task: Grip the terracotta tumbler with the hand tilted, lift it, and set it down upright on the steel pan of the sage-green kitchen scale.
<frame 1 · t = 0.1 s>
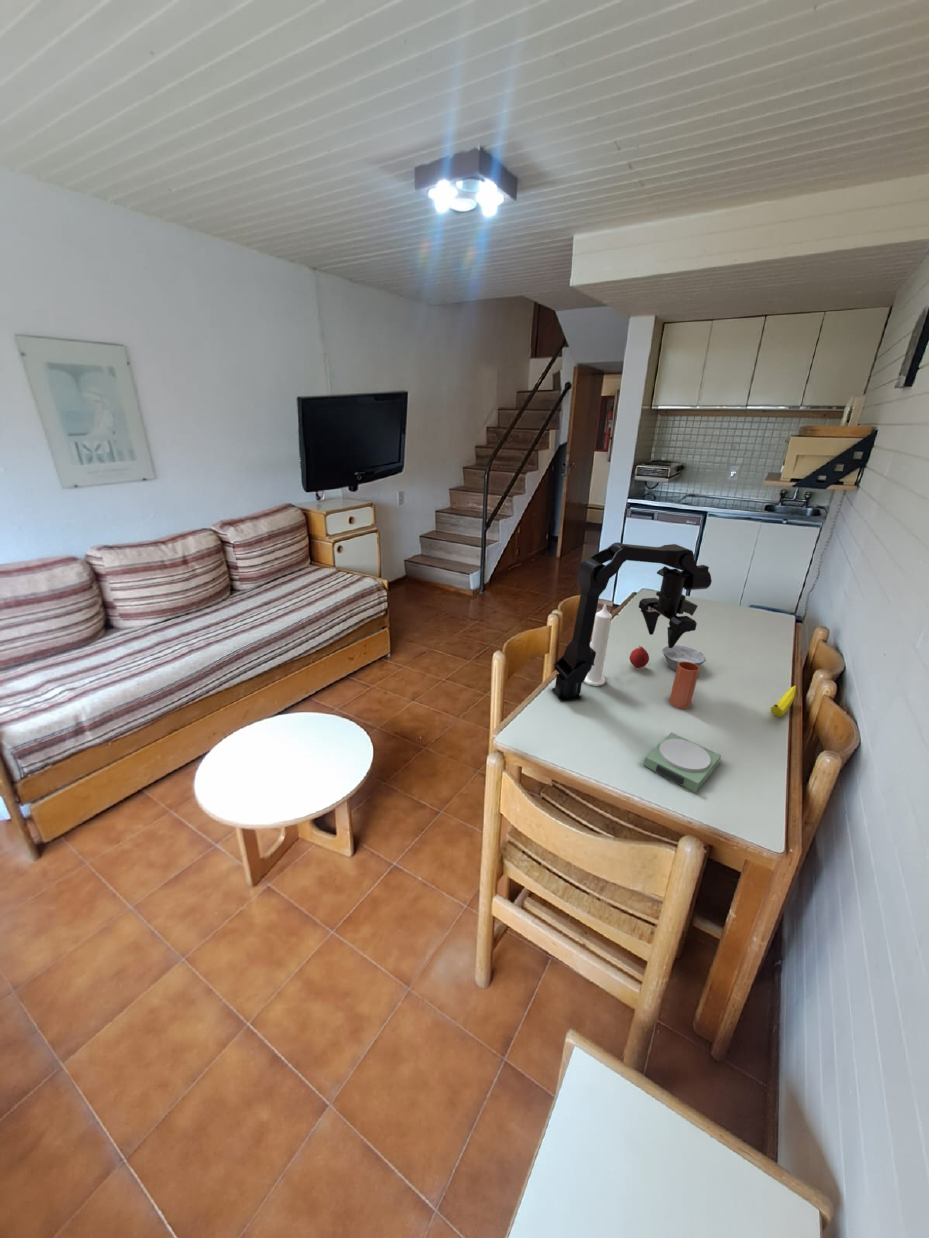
hand: (660, 641, 143), 15 cm above the table, tool pointing down, fingers open, 9 cm apart
scale: (681, 764, 115), on the table
candle: (593, 680, 150), on the table
tumbler: (679, 703, 140), on the table
bowl: (680, 667, 160), on the table
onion: (637, 668, 158), on the table
banana: (780, 712, 137), on the table
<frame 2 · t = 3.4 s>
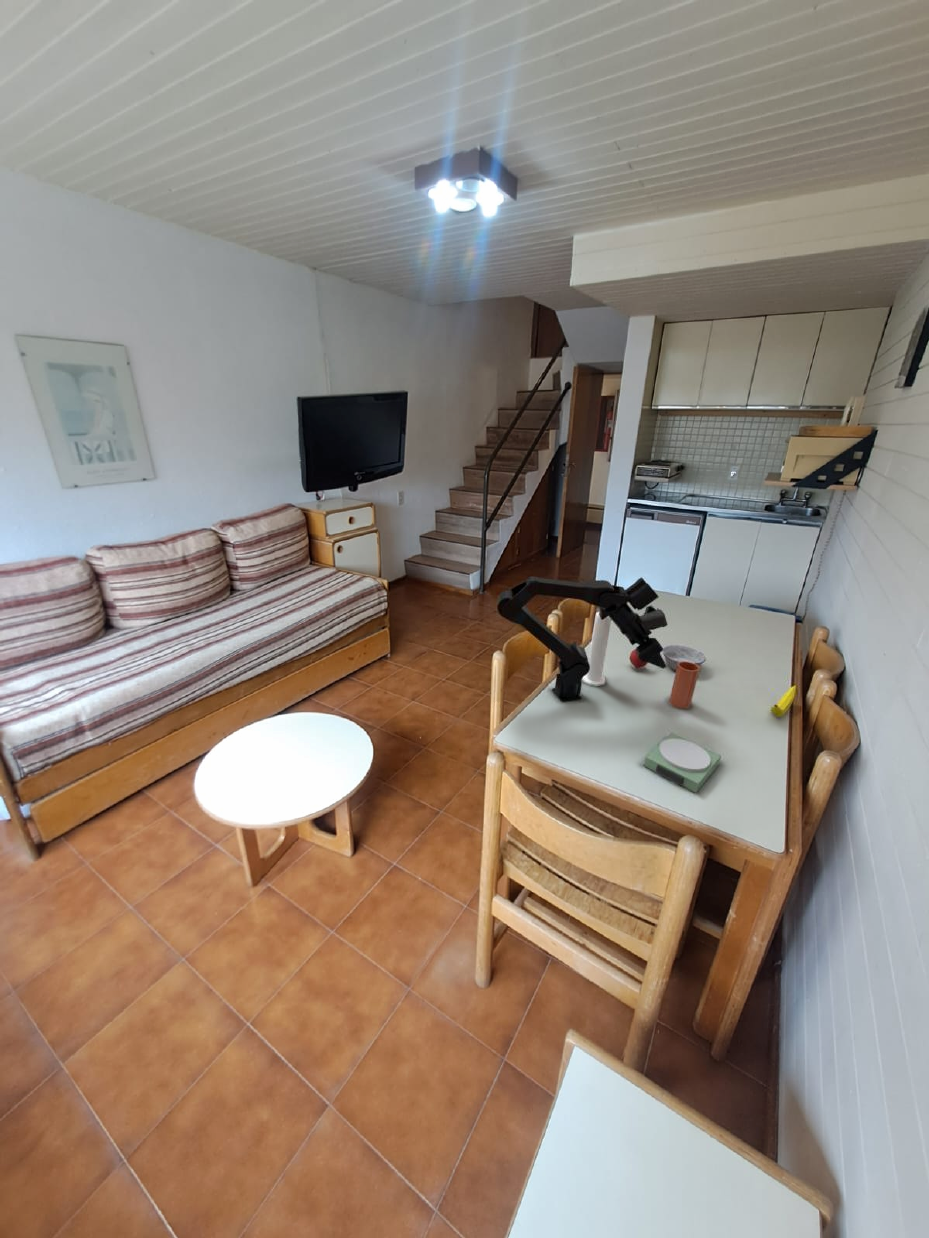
hand: (659, 659, 135), 13 cm above the table, tool tilted 45°, fingers open, 9 cm apart
nothing on the table moved.
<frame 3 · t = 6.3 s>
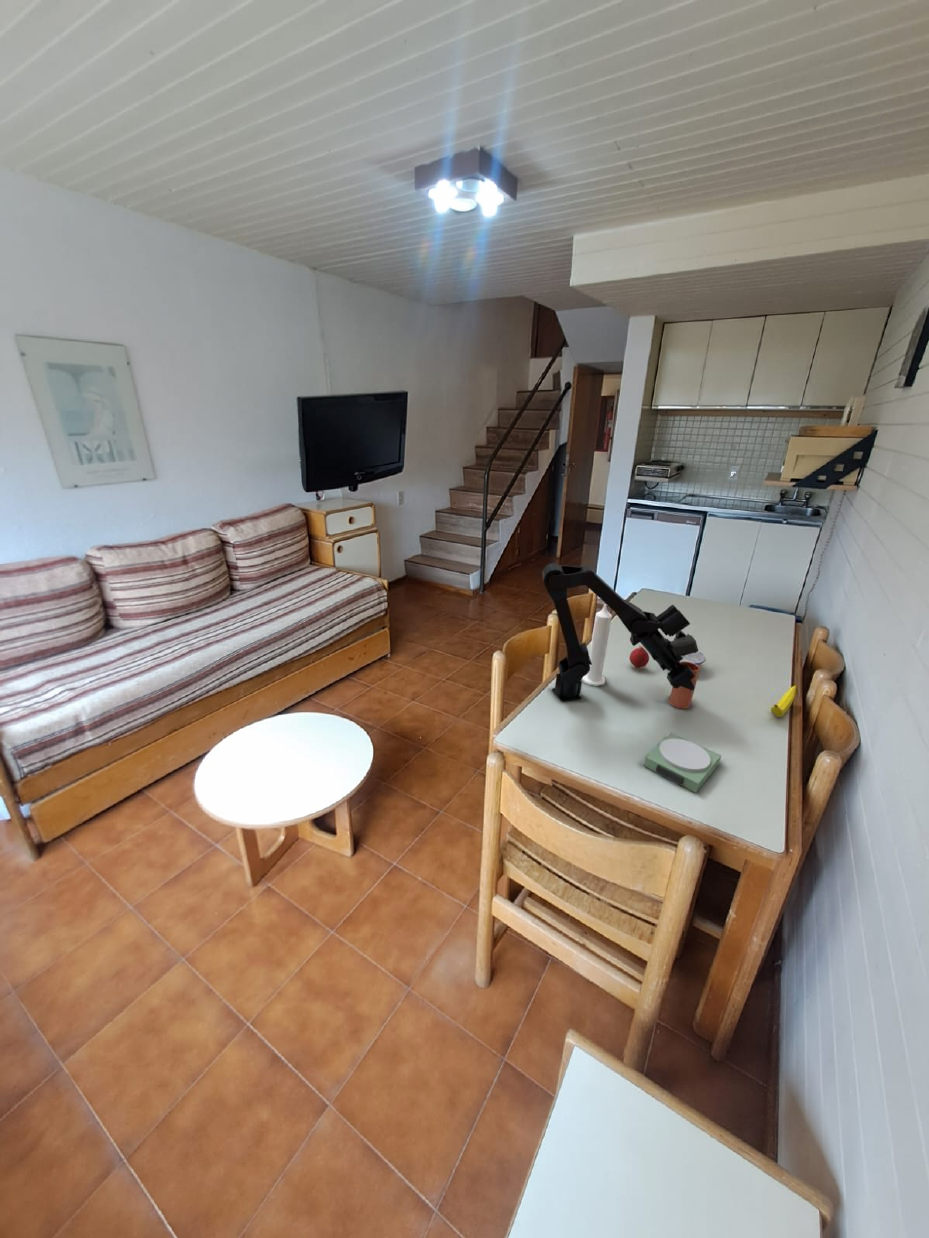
hand: (689, 683, 137), 7 cm above the table, tool tilted 45°, fingers closed on tumbler, 5 cm apart
tumbler: (679, 703, 140), on the table, touching gripper
everything else where it was.
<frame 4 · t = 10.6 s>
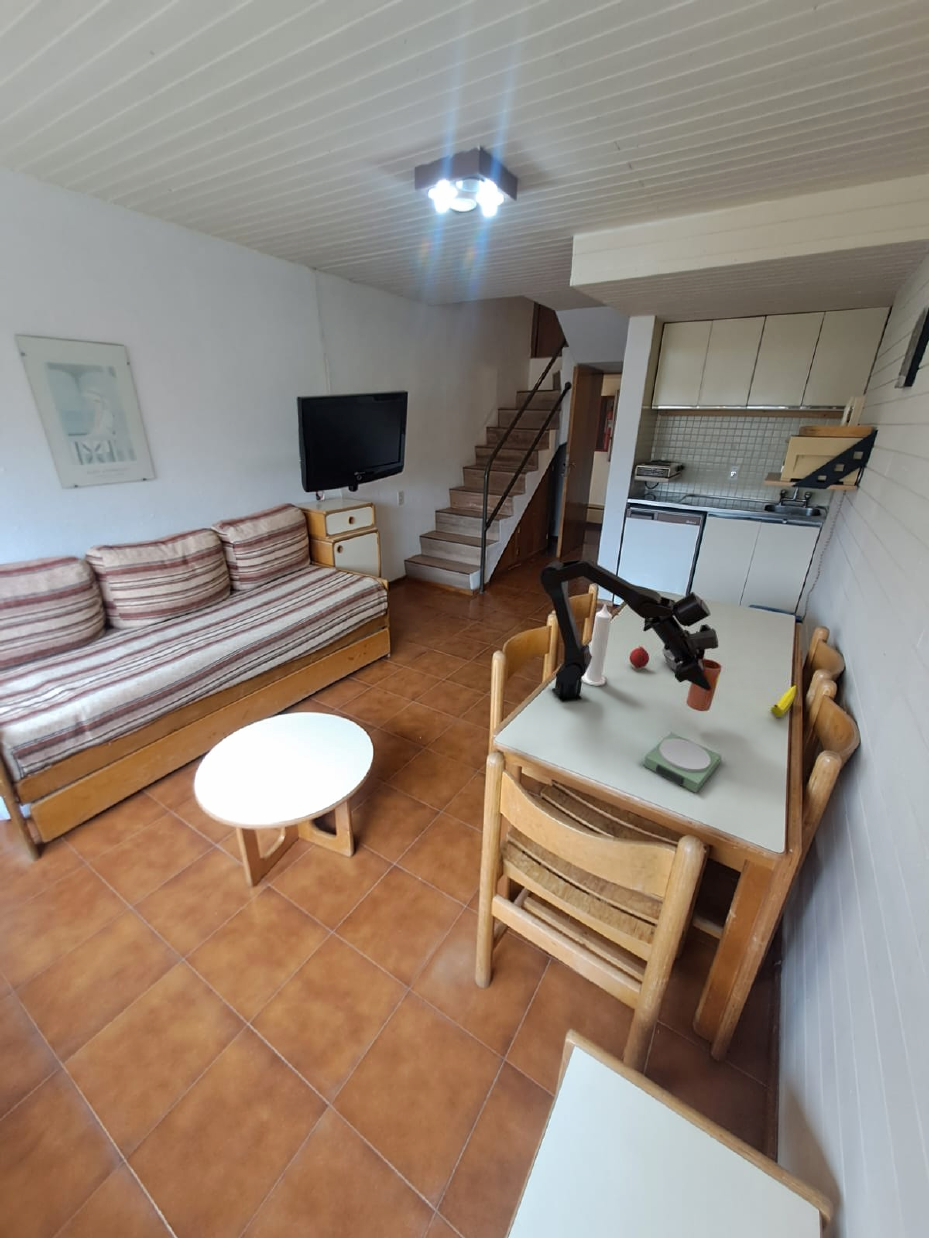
hand: (709, 684, 123), 13 cm above the table, tool tilted 45°, fingers closed on tumbler, 5 cm apart
tumbler: (697, 705, 126), point 7 cm above the table, touching gripper
everything else where it was.
when the fingers open (10 cm above the table, at t = 15.0 s): tumbler stays where it is, resting on scale.
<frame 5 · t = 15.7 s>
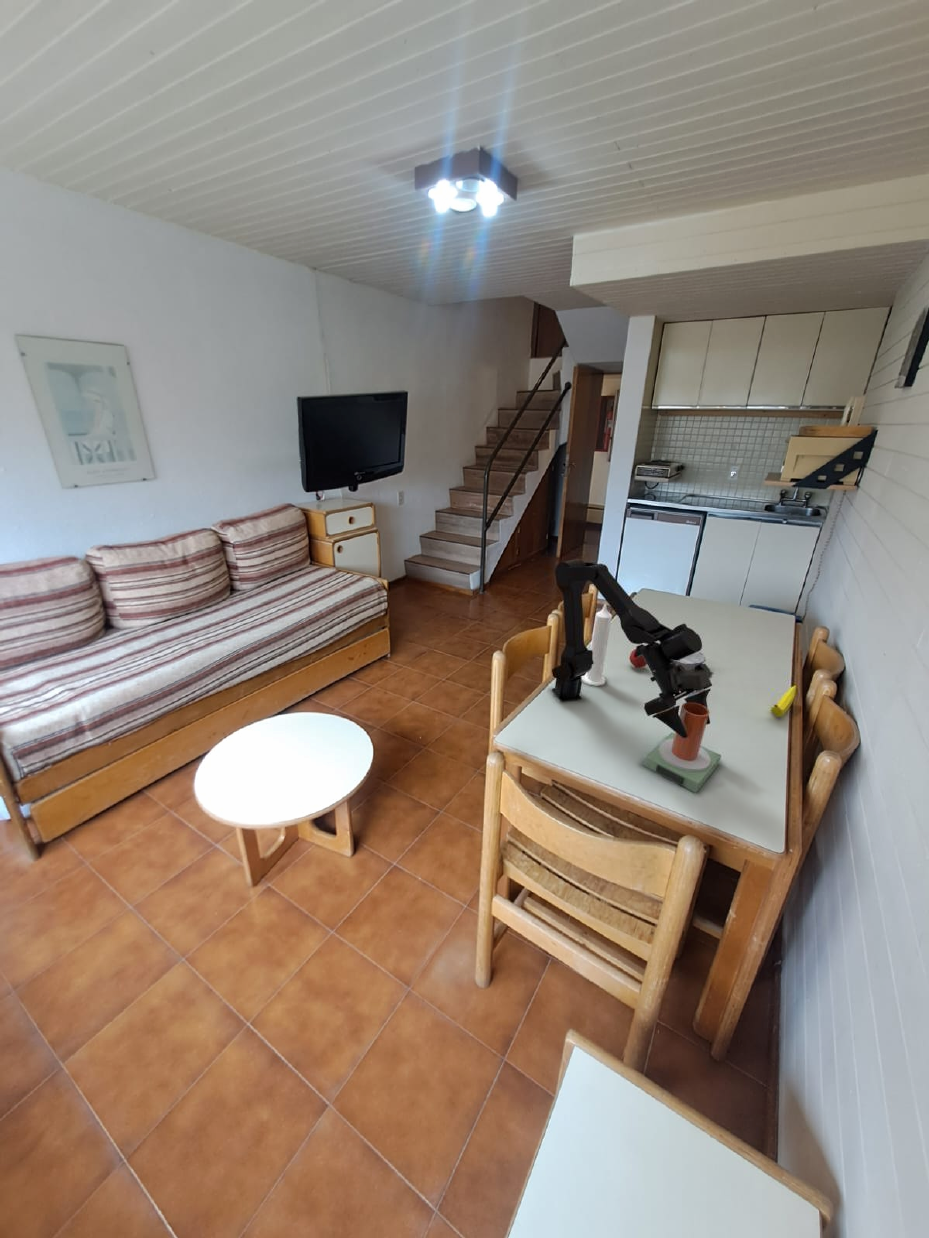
hand: (697, 730, 110), 10 cm above the table, tool tilted 45°, fingers open, 9 cm apart
tumbler: (684, 752, 114), point 3 cm above the table, touching scale
everything else where it was.
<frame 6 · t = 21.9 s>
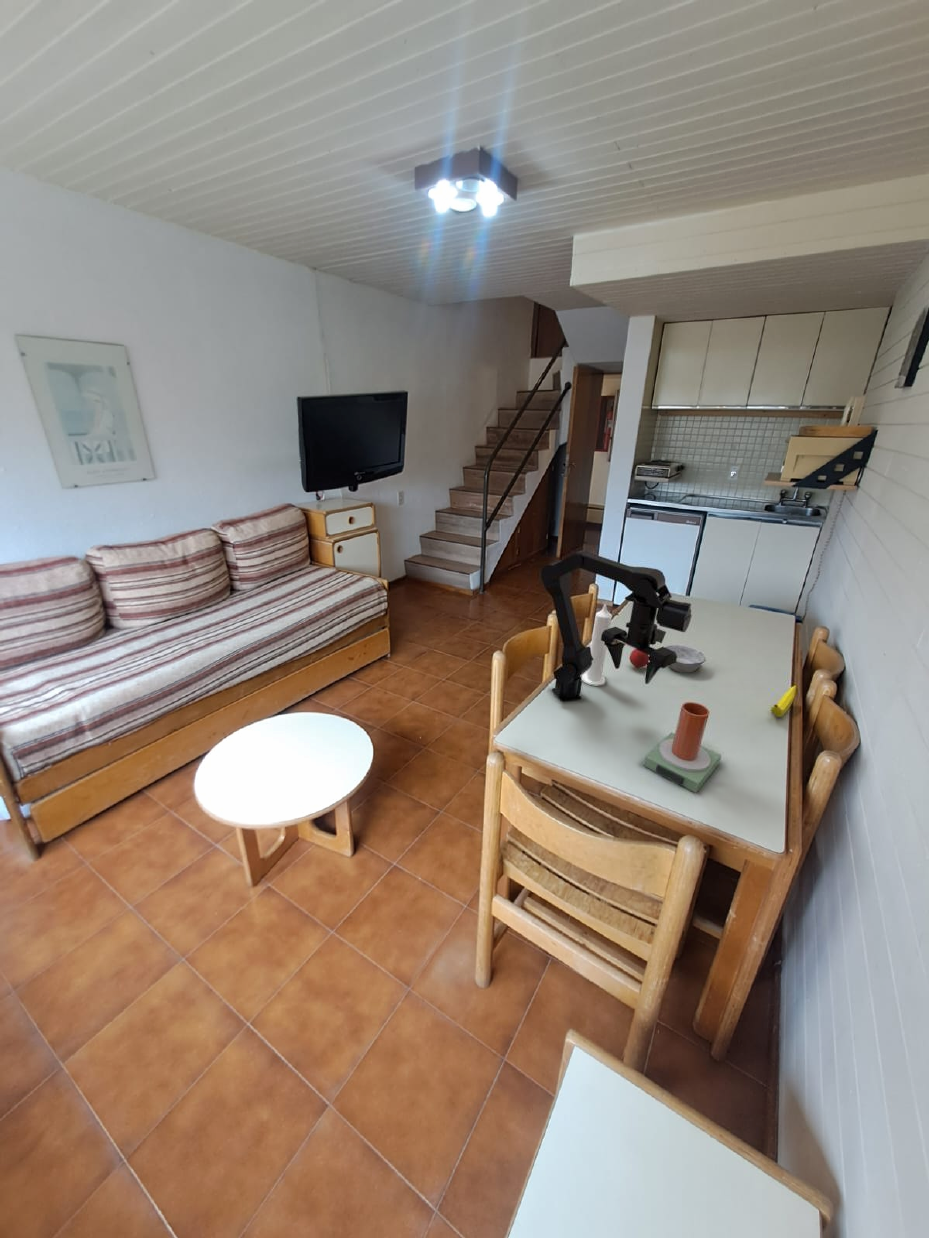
hand: (631, 675, 127), 13 cm above the table, tool pointing down, fingers open, 9 cm apart
nothing on the table moved.
at the end: tumbler inside the target area on the scale (0.1 cm from its centre), point 3.3 cm above the scale's base; tumbler tilted 0°; the gripper is holding nothing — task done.
